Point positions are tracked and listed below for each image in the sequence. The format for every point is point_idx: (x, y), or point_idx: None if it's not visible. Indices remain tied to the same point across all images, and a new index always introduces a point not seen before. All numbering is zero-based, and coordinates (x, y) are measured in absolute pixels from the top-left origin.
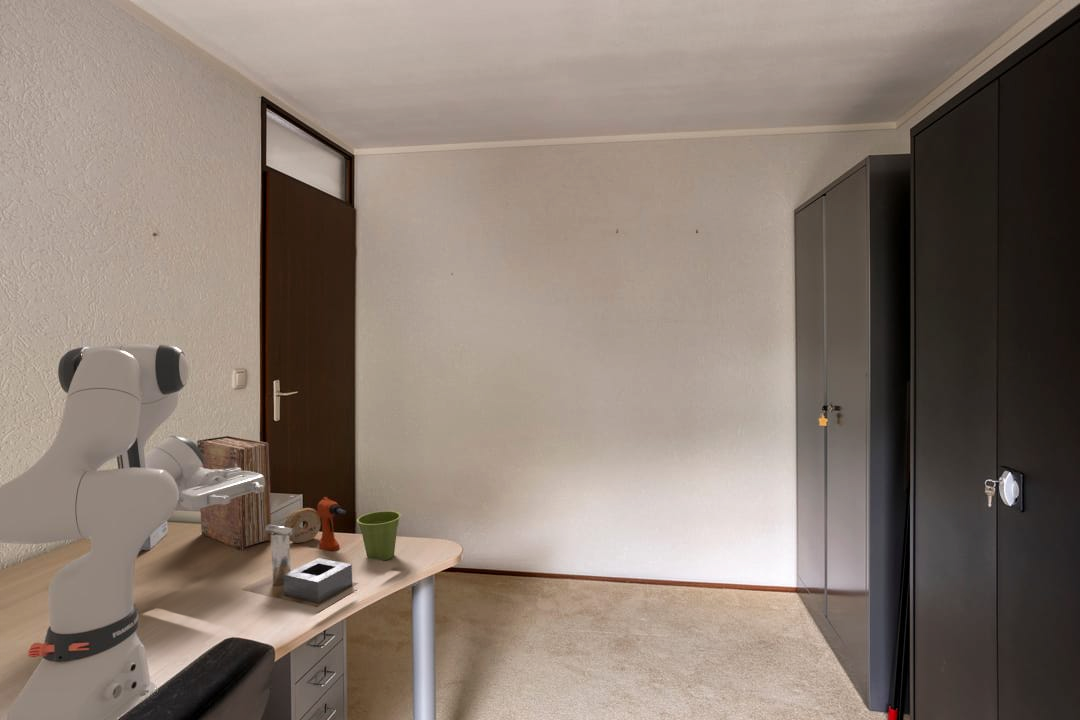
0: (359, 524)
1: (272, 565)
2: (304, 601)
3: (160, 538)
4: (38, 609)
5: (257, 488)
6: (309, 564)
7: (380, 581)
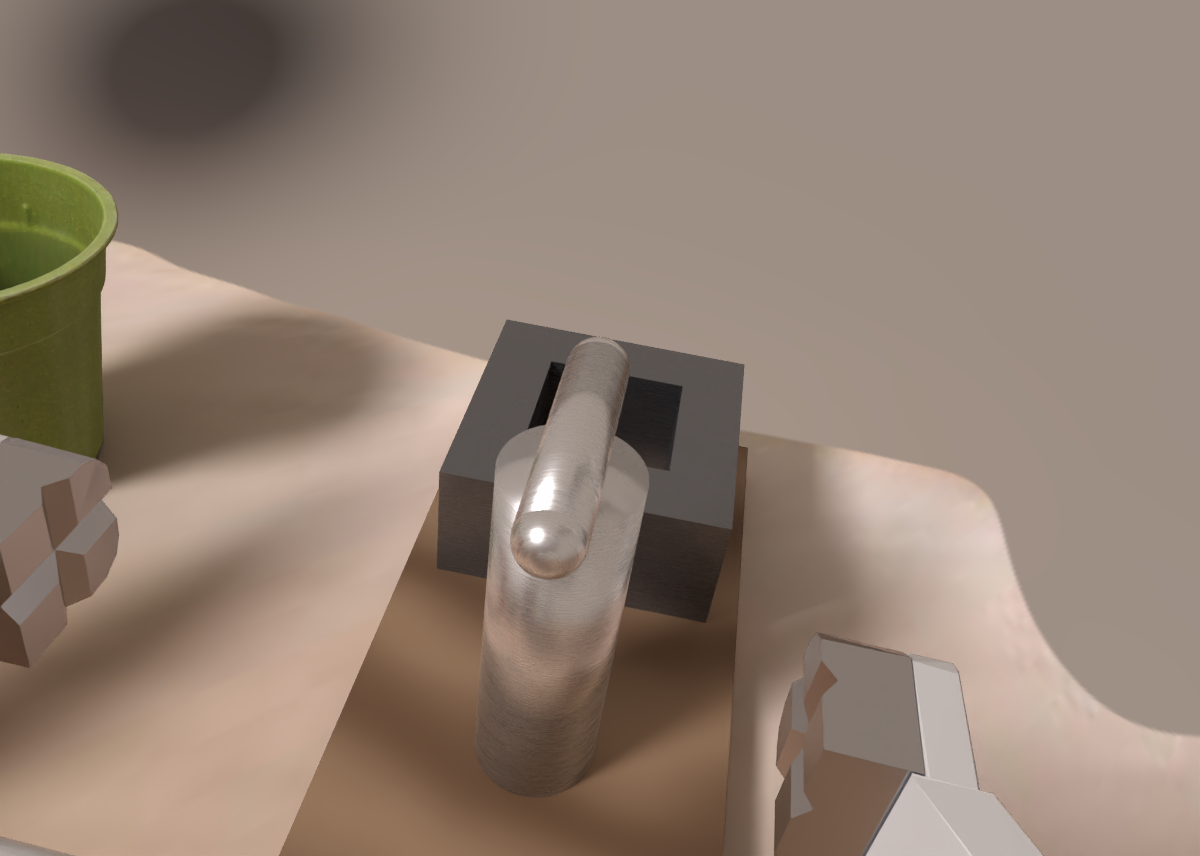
0: (12, 308)
1: (602, 685)
2: None
3: None
4: None
5: (81, 498)
6: None
7: (378, 376)
